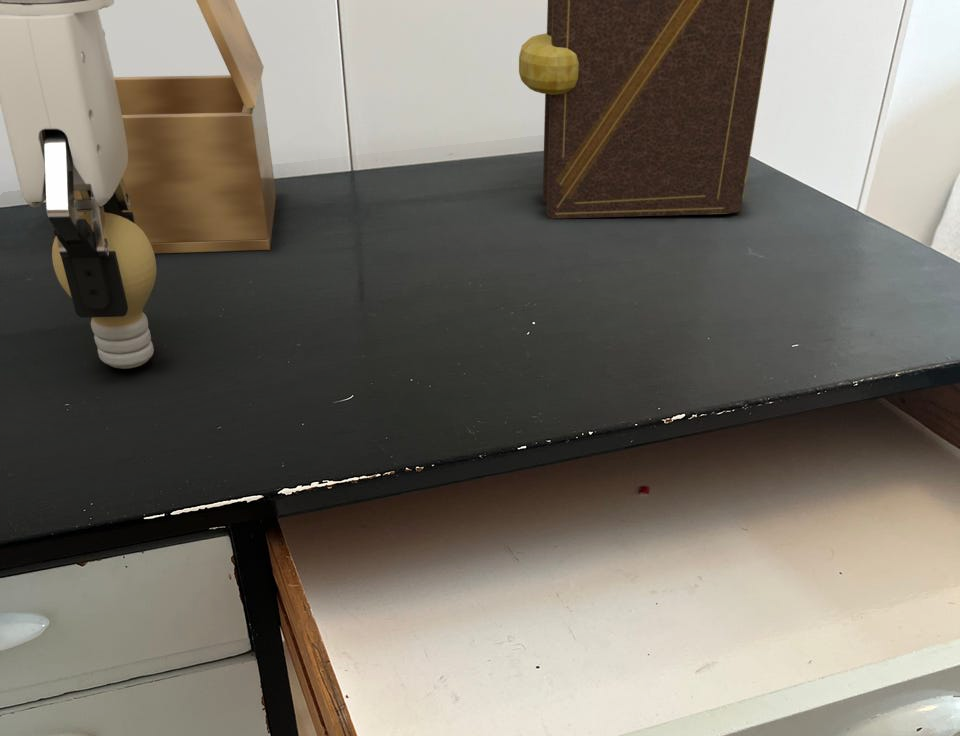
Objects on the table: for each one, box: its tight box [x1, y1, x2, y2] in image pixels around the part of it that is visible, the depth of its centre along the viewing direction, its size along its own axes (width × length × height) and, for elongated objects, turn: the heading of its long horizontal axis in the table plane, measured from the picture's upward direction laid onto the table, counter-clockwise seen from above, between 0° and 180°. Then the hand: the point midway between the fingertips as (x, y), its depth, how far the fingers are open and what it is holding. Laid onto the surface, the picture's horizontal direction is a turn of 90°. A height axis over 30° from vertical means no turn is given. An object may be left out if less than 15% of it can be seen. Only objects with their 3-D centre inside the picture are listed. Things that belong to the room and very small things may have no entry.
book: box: [518, 0, 776, 220], centre depth 87 cm, size 22×8×25 cm, turn 92°
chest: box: [74, 74, 277, 255], centre depth 87 cm, size 17×15×11 cm
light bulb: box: [51, 212, 157, 370], centre depth 65 cm, size 6×6×10 cm
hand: (111, 290), depth 65 cm, fingers closed on light bulb, 6 cm apart
